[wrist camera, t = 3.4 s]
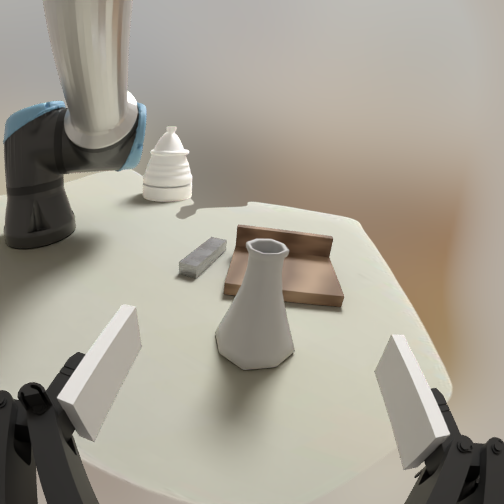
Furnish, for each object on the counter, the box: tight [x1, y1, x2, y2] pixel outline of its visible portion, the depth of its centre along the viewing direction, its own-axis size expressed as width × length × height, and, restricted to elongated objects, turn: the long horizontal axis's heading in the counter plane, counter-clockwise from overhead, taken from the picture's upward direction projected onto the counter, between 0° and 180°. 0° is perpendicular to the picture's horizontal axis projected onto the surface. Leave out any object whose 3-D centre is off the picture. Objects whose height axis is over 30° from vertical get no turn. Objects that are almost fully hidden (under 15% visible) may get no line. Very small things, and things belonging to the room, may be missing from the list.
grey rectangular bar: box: [179, 237, 227, 278], centre depth 41 cm, size 2×10×2 cm, turn 163°
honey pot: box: [143, 126, 192, 202], centre depth 70 cm, size 13×13×18 cm
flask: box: [215, 239, 295, 370], centre depth 25 cm, size 7×7×10 cm
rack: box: [224, 225, 344, 307], centre depth 38 cm, size 14×12×4 cm
